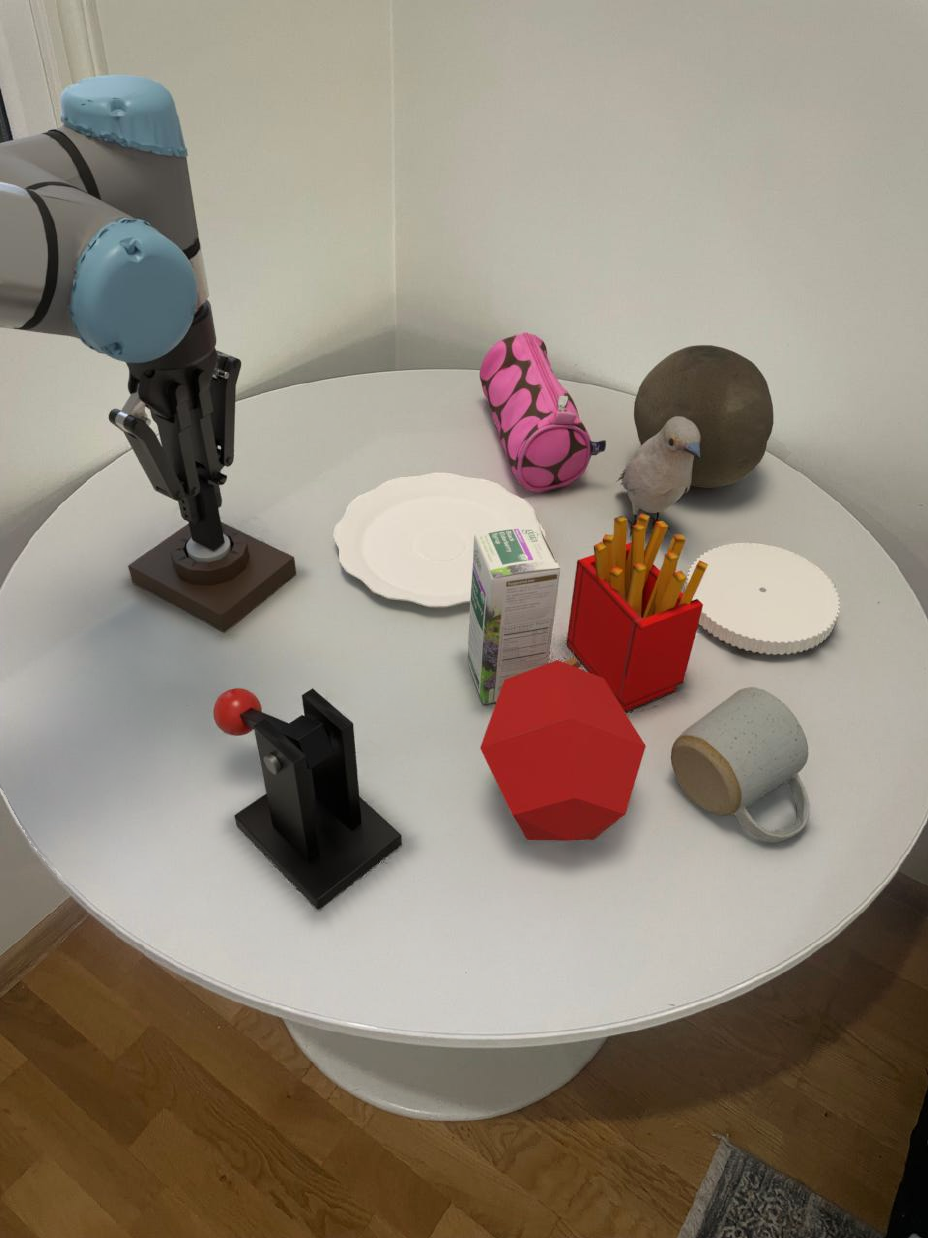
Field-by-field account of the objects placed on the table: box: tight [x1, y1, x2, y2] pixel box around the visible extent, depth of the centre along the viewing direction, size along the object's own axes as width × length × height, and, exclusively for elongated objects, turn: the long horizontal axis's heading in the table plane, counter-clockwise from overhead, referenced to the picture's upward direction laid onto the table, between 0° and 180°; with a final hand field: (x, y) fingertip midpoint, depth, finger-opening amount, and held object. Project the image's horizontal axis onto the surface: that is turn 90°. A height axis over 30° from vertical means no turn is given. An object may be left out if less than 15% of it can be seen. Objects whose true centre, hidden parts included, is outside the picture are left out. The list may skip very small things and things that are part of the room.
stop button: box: [186, 534, 232, 562], centre depth 94 cm, size 4×4×2 cm
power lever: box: [212, 687, 335, 769], centre depth 71 cm, size 13×4×4 cm, turn 44°
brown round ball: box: [633, 344, 774, 489], centre depth 104 cm, size 14×14×15 cm
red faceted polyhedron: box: [479, 656, 647, 842], centre depth 74 cm, size 12×12×15 cm
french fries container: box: [566, 512, 708, 713], centre depth 84 cm, size 7×9×14 cm
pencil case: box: [479, 331, 607, 493], centre depth 111 cm, size 21×10×10 cm, turn 13°
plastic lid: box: [683, 541, 841, 656], centre depth 93 cm, size 14×14×2 cm
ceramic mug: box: [670, 686, 811, 843], centre depth 76 cm, size 11×8×8 cm
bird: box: [615, 416, 701, 538], centre depth 98 cm, size 5×14×15 cm, turn 17°
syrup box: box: [467, 526, 561, 705], centre depth 82 cm, size 6×6×14 cm
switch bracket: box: [233, 687, 403, 911], centre depth 71 cm, size 10×8×13 cm
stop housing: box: [127, 521, 297, 633], centre depth 94 cm, size 12×10×4 cm
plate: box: [332, 471, 547, 609], centre depth 100 cm, size 21×21×2 cm
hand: (208, 541), depth 93 cm, fingers closed
